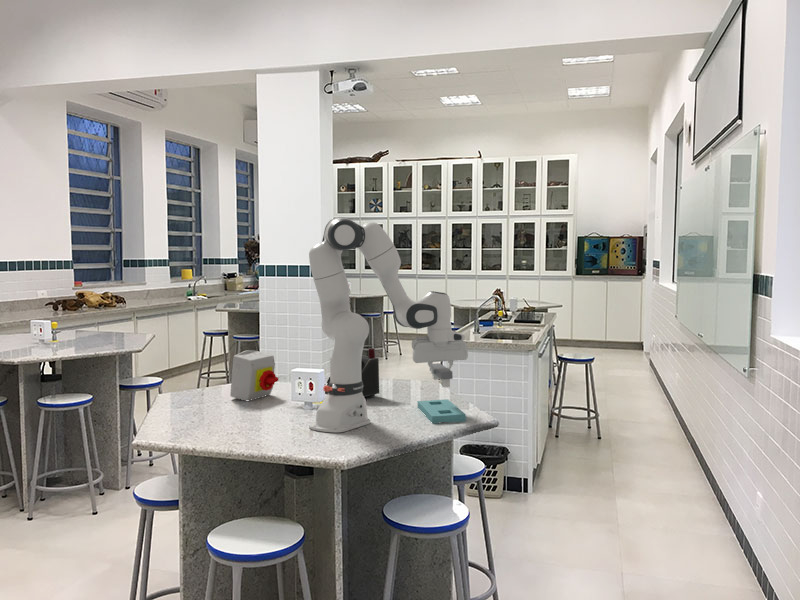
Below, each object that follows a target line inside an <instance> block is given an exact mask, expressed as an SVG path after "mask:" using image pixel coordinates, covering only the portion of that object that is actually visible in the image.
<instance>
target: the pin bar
mask: <svg viewBox="0 0 800 600" xmlns="http://www.w3.org/2000/svg"><path fill="white" fill-rule="evenodd" d="M431 366H432V367H433V369H436V374H431V375H432V380H434V381H436V380H437V381H439V380H441V387H442V388H451V380H453V371H452V370H451V369H450V370H449V369H448V368H447V367H446V366H445V365H443V364H441V362H437V363H433V365H431ZM429 371H430V372H431V369H430V368H429Z"/></svg>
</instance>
